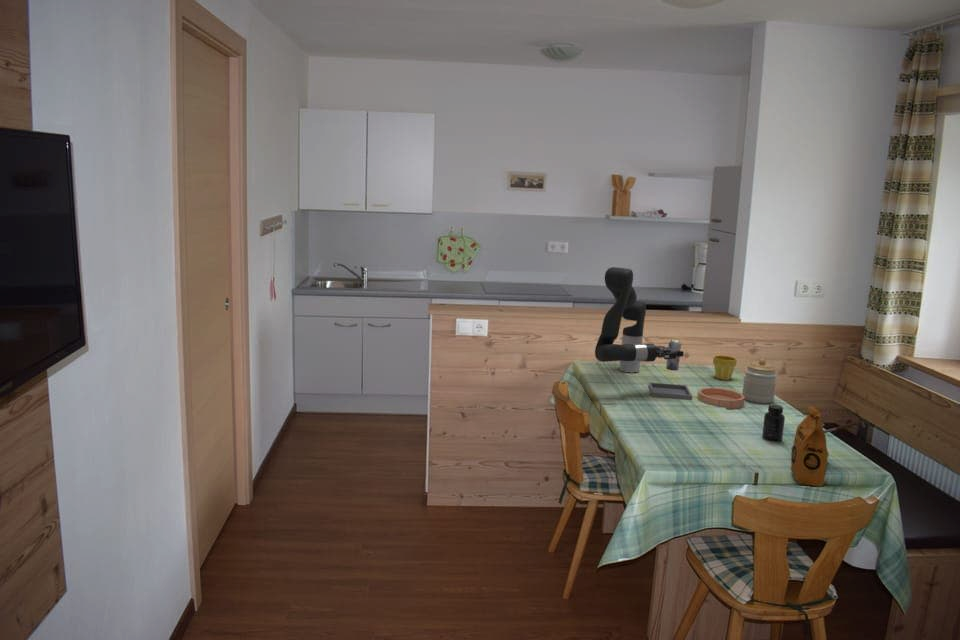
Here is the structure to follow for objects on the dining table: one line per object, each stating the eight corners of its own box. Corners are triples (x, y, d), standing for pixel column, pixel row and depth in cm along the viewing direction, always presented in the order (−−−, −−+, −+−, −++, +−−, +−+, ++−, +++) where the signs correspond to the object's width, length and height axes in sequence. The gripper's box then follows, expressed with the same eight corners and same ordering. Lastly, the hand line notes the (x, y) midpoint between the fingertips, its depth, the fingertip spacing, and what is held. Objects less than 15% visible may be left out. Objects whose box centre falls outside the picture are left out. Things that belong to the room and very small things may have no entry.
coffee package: (791, 483, 231) (800, 414, 227) (787, 469, 243) (796, 403, 238) (826, 489, 228) (837, 419, 224) (821, 474, 240) (831, 408, 236)
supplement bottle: (765, 433, 276) (769, 402, 274) (784, 438, 272) (789, 406, 270) (758, 438, 271) (763, 406, 269) (778, 443, 267) (782, 410, 265)
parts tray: (652, 398, 314) (652, 392, 313) (648, 387, 329) (648, 382, 329) (691, 401, 312) (692, 395, 311) (685, 390, 328) (686, 385, 327)
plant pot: (706, 375, 355) (708, 355, 353) (723, 374, 360) (725, 354, 358) (722, 381, 346) (724, 361, 344) (739, 380, 350) (741, 359, 348)
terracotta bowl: (701, 406, 306) (702, 398, 305) (694, 394, 323) (695, 386, 323) (747, 410, 304) (748, 402, 303) (737, 397, 322) (738, 389, 321)
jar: (776, 405, 313) (781, 364, 310) (743, 402, 316) (748, 360, 312) (771, 396, 326) (776, 356, 322) (739, 393, 328) (744, 353, 325)
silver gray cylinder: (666, 369, 316) (670, 340, 314) (665, 366, 321) (668, 338, 319) (679, 370, 316) (682, 341, 313) (677, 367, 321) (680, 339, 318)
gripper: (651, 348, 306) (689, 347, 310) (635, 339, 320) (672, 339, 324) (649, 365, 307) (687, 365, 312) (634, 356, 321) (670, 356, 325)
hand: (679, 352), depth 318 cm, fingers closed on silver gray cylinder, 5 cm apart
